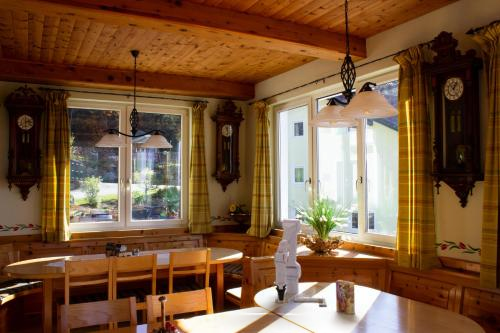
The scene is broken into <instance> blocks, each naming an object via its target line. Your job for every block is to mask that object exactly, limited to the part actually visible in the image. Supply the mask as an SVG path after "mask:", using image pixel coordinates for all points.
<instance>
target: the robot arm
mask: <svg viewBox="0 0 500 333" xmlns="http://www.w3.org/2000/svg"><path fill="white" fill-rule="evenodd" d="M301 225H302V223H301V221H300V219H299V218H296V219H295V218H283V219H282V221H281V227H282V230H283V233H282V238H281V240H280V241H279V243H278V247H277V249H276V252H275V253H274V255H273V261H274V266H275V281H274V282H273V284H274V285H276V287H275V290H276V292H277V297H278V296H279V301H283V300H284V293H285V294H286V293H287V294H292V295H294V294H299V292H300V290H299V280H300V278H301V276H302V269H301V268H302V267H301V265H300V263H299V262H297V254H298V251H297V250H298V234H300V233H301Z"/></svg>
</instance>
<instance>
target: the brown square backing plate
mask: <svg viewBox="0 0 500 333" xmlns="http://www.w3.org/2000/svg"><path fill="white" fill-rule="evenodd" d="M274 303H275V304H289V298H285V302H278V298H275V299H274Z"/></svg>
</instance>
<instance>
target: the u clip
mask: <svg viewBox="0 0 500 333" xmlns="http://www.w3.org/2000/svg"><path fill="white" fill-rule="evenodd" d="M277 299H278V302H285V299H286V292H285V293H284V300H283V301H279V296H278V295H277Z"/></svg>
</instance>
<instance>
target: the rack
mask: <svg viewBox="0 0 500 333" xmlns="http://www.w3.org/2000/svg"><path fill="white" fill-rule="evenodd" d="M294 300H295V303H297V302H298V303H299V302H300V303H302V302H303V303H304V302H307V303H314V302H315V303H318V307H324V308H325V307H327V302H326V298H323V297H321V296H319V297H318V296H316V297H315V296H313V297H309V296H308V297H307V296H303V297H302V296H295V297H294Z"/></svg>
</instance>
